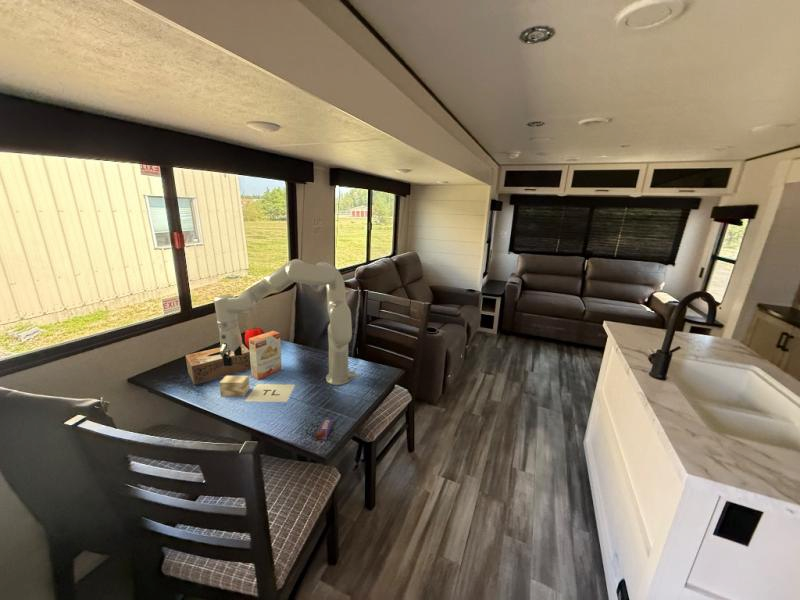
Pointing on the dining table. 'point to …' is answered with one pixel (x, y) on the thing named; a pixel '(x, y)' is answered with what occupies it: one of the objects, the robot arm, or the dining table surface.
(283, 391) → the mat
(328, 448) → the dining table surface
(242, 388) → the maple block
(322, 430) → the snack package
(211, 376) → the tissue box cover
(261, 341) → the cracker box
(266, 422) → the dining table surface
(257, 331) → the tomato
